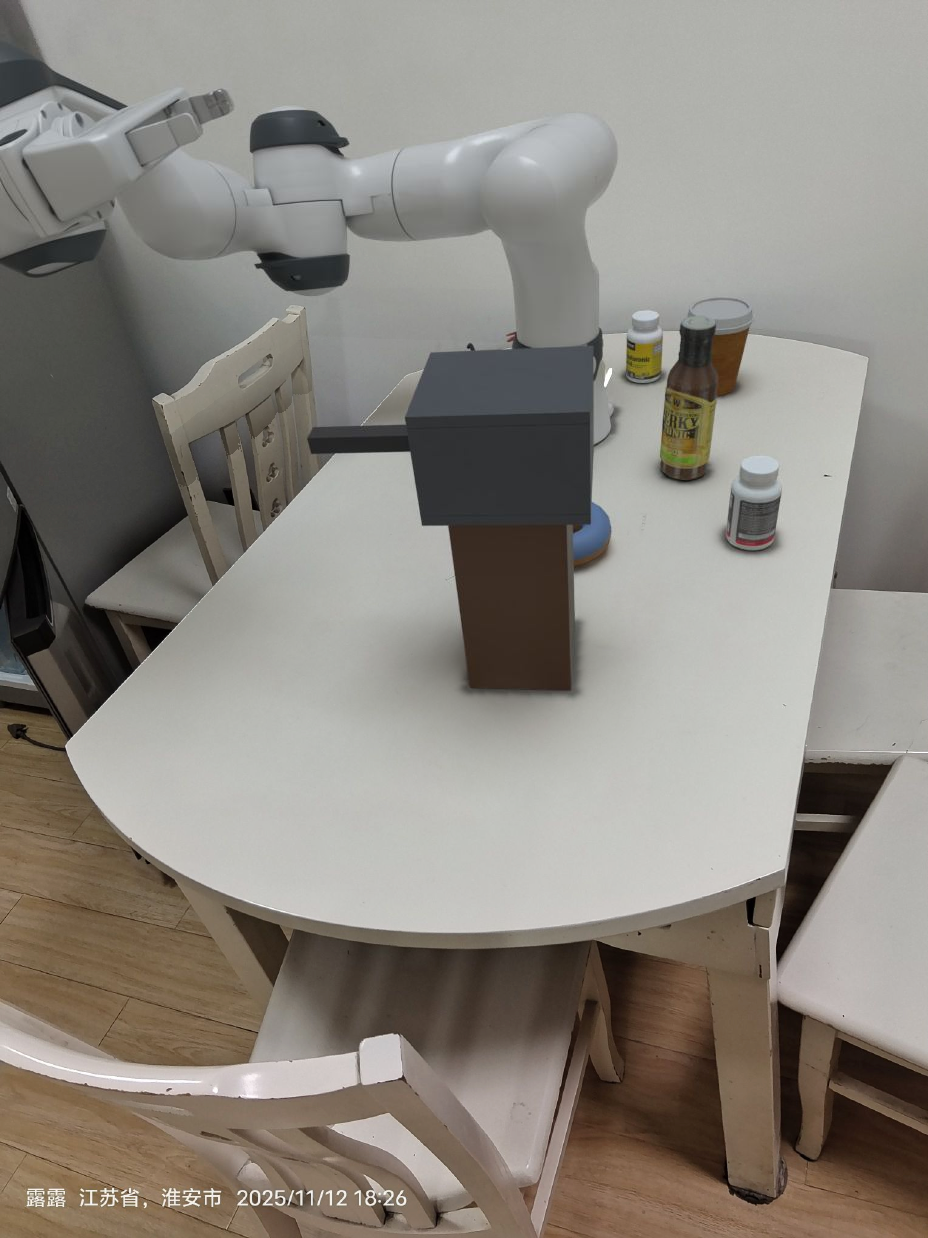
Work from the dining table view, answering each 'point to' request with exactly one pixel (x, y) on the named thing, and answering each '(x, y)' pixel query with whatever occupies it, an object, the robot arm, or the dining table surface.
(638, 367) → the supplement bottle
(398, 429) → the tray
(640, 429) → the dining table surface
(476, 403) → the dispenser
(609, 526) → the doughnut
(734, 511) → the pill bottle
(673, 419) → the sauce bottle
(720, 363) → the disposable coffee cup
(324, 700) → the dining table surface
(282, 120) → the robot arm
